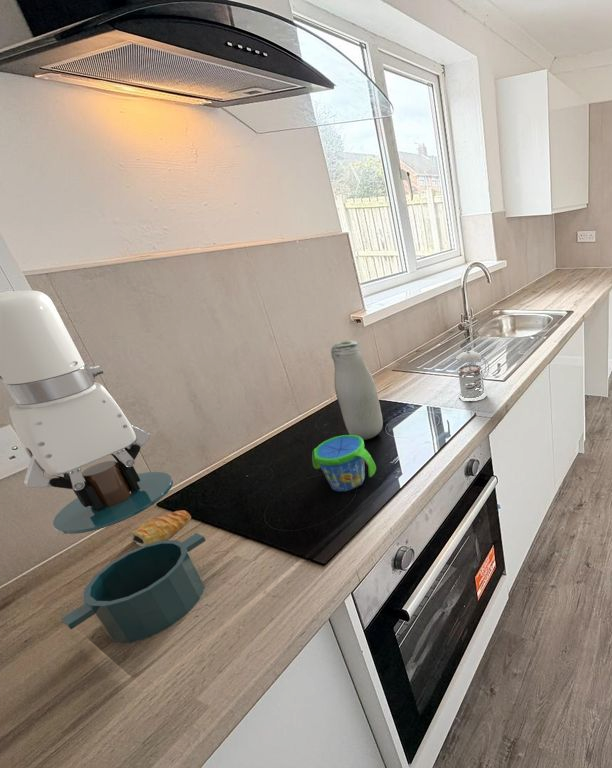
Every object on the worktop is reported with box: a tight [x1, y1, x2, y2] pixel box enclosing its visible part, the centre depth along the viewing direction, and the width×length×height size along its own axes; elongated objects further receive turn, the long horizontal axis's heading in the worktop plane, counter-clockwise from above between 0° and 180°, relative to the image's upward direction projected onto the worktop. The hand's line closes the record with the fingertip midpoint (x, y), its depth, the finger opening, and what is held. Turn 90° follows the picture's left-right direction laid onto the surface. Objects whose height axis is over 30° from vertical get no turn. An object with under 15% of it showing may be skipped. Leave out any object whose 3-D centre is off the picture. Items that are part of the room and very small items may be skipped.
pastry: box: [130, 509, 192, 547], centre depth 84 cm, size 9×7×4 cm
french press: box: [455, 321, 490, 403], centre depth 132 cm, size 10×12×25 cm
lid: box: [52, 460, 174, 535], centre depth 61 cm, size 14×14×7 cm
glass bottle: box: [330, 340, 384, 441], centre depth 110 cm, size 10×10×28 cm
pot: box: [60, 532, 207, 644], centre depth 66 cm, size 13×18×8 cm
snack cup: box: [311, 434, 377, 493], centre depth 94 cm, size 16×10×10 cm
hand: (114, 496), depth 62 cm, fingers closed on lid, 3 cm apart
